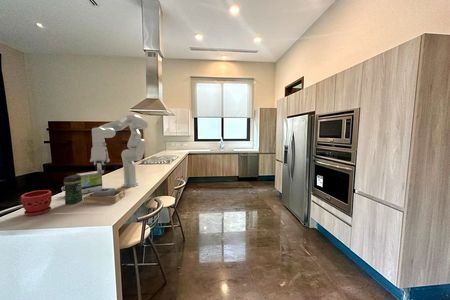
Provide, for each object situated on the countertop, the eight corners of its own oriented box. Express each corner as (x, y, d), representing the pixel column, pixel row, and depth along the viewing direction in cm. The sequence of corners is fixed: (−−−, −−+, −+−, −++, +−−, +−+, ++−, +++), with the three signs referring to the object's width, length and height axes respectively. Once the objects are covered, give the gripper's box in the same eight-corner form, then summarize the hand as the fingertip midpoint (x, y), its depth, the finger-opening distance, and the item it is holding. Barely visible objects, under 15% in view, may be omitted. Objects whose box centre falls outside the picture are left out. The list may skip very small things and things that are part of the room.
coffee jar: (75, 205, 132) (73, 177, 130) (62, 205, 132) (60, 177, 130) (85, 200, 142) (83, 173, 140) (73, 200, 141) (71, 174, 140)
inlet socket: (102, 198, 144) (101, 188, 143) (115, 197, 144) (114, 188, 144) (94, 202, 135) (93, 192, 134) (108, 202, 136) (108, 191, 135)
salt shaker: (99, 173, 150) (98, 159, 150) (105, 173, 151) (104, 159, 150) (95, 174, 146) (94, 160, 145) (102, 174, 146) (101, 160, 145)
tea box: (81, 194, 155) (80, 175, 154) (77, 192, 161) (75, 173, 160) (103, 189, 167) (101, 171, 166) (97, 187, 173) (96, 170, 172)
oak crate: (96, 198, 146) (95, 191, 146) (124, 197, 147) (124, 190, 147) (83, 205, 132) (83, 197, 132) (115, 204, 133) (115, 196, 133)
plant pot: (16, 217, 115) (13, 196, 114) (40, 208, 128) (38, 189, 127) (36, 218, 113) (34, 197, 112) (58, 209, 126) (57, 190, 125)
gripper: (113, 144, 151) (114, 169, 152) (90, 144, 150) (91, 169, 152) (107, 145, 143) (109, 171, 145) (83, 145, 143) (85, 171, 144)
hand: (100, 170), depth 148 cm, fingers closed on salt shaker, 4 cm apart
